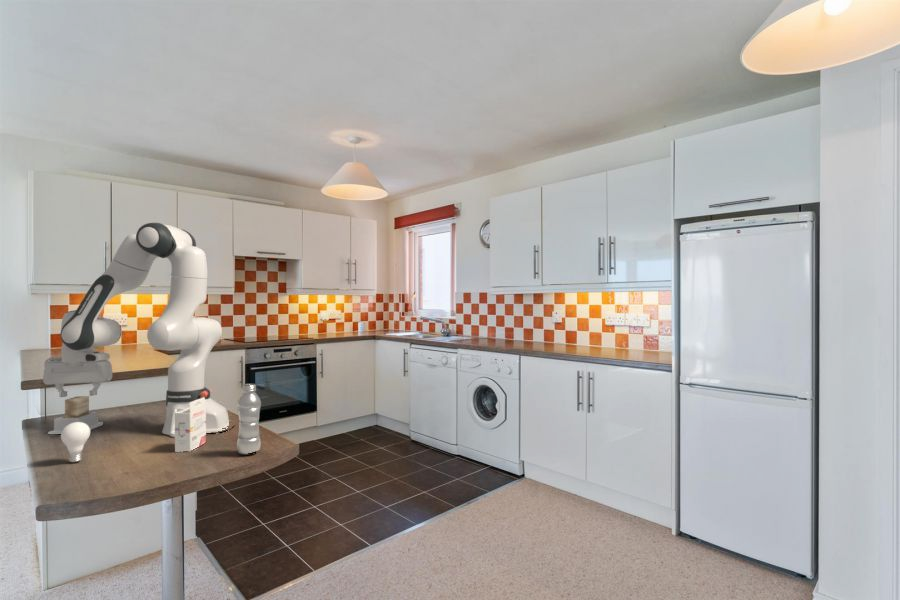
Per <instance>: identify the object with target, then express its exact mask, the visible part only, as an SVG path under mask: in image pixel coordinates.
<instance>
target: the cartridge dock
mask: <svg viewBox="0 0 900 600" xmlns="http://www.w3.org/2000/svg"><path fill="white" fill-rule="evenodd" d="M73 422H83V423H85V424H87V425H88V426H89V428H90V431H92V430H93V429H96V428H98V427H101V426H103V425H104V421H99V411H89V414H87V415H84V416H81V417H79V418H65V415H63V416H62V415H61V416H60V417H56V418H54V419H53V430H50V431H48V432H47V435H48V434H61V432H62V430H63V429H64V428H65V427H66V426H67V425H68V424H70V423H73Z"/></svg>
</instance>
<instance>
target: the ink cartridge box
mask: <svg viewBox="0 0 900 600" xmlns="http://www.w3.org/2000/svg"><path fill="white" fill-rule="evenodd" d="M197 402H198V403H200V405H198V406H195V404H197ZM205 442H206V443H207V434H206V405H205V398H204V397H203V398H201V399H198V400H195V401H192V402H190V403H189V408H187V409H184V410H181V411H179V412H176V413H175V437H174V452H175V453H184V452H183V451H191V450H193V449H195V448H197V447H199V446H200V445H202V444H204V443H205ZM204 445H205V444H204ZM199 448H200V447H199ZM197 449H198V448H197ZM195 450H196V449H195ZM180 451H181V452H180Z"/></svg>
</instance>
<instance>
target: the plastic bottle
mask: <svg viewBox="0 0 900 600" xmlns="http://www.w3.org/2000/svg"><path fill="white" fill-rule="evenodd" d="M241 387H242V390H241V392H242V394H241V395H240V397H239V399H238V400H237V402H236V406H237V413H238V422H239V423H238V426H239V427H238V434H237V435H238V436H237V437H238V438H237V441H236V450H237V452H238V453H239V454H240V455H249V454H248V453H252V452H255V451H258V450H259V451H260V449H261V443H262V442H261V436H260V427H259V423H260V421H259V420H260V413H261V405H262V401H261V399H260V397H259V395H258V394H257V392H256V391H257V385H256V384H255V383H245V384H242V386H241ZM259 451H258V452H259Z"/></svg>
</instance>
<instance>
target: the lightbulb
mask: <svg viewBox="0 0 900 600" xmlns="http://www.w3.org/2000/svg"><path fill="white" fill-rule="evenodd" d="M90 436H91V430H90V428H89V426H88V425H87V424H85V423H83V422H73V423H70V424H68V425H67V426H66V427H65V428H64V429H63V430H62V432H61V435H60V440H61V441H62V443H63V444H64V445H65V446H66V447H67V452H68V454H69V458H68V461H69V462H70V463H73V464H75V463H78V462H80V461H81V460H82V459H83V457H82V455H83V450H84V447H85V446H84V445H85V444H86V442H87V441H88V440H89V438H90Z"/></svg>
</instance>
